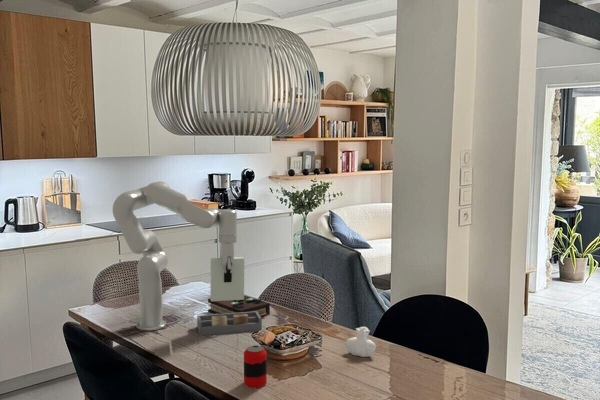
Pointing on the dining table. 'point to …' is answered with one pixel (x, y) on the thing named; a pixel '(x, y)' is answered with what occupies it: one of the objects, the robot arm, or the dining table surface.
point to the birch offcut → (219, 320)
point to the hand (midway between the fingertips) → (227, 280)
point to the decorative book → (240, 306)
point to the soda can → (255, 367)
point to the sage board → (227, 289)
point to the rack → (228, 323)
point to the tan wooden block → (240, 319)
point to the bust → (361, 344)
